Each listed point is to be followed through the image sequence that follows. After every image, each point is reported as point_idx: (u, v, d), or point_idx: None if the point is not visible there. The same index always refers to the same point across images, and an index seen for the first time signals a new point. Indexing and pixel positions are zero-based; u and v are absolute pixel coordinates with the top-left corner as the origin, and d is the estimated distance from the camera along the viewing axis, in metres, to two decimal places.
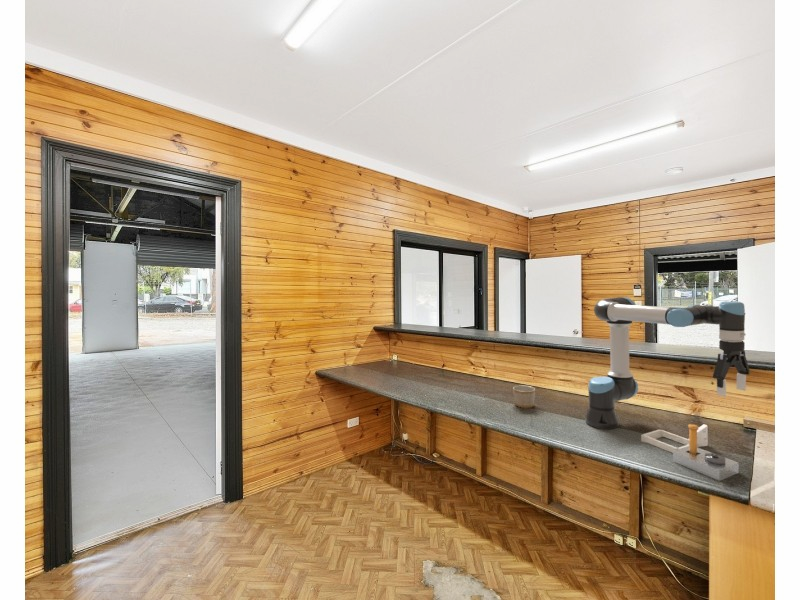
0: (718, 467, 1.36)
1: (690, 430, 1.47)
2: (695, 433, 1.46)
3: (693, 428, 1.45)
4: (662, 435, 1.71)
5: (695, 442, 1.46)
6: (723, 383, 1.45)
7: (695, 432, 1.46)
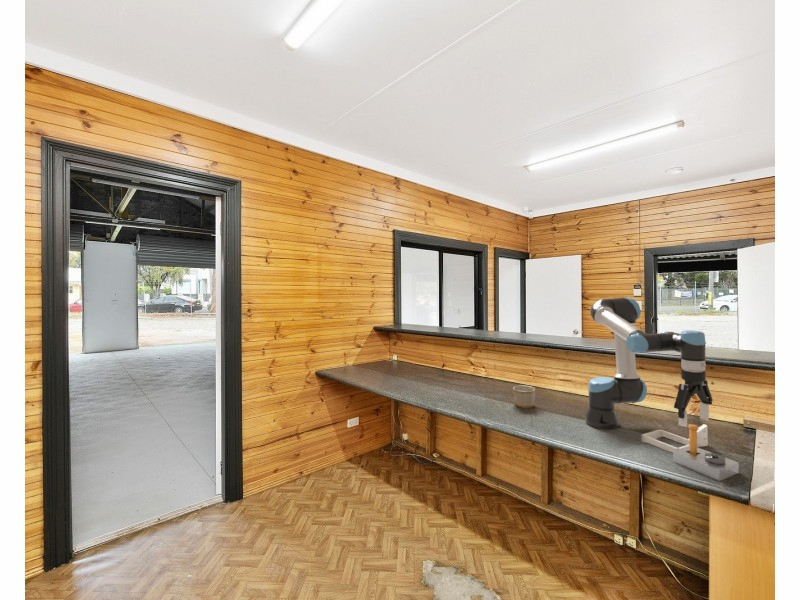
0: (718, 467, 1.36)
1: (690, 430, 1.47)
2: (695, 433, 1.46)
3: (693, 428, 1.45)
4: (662, 435, 1.71)
5: (695, 442, 1.46)
6: (684, 414, 1.42)
7: (695, 432, 1.46)
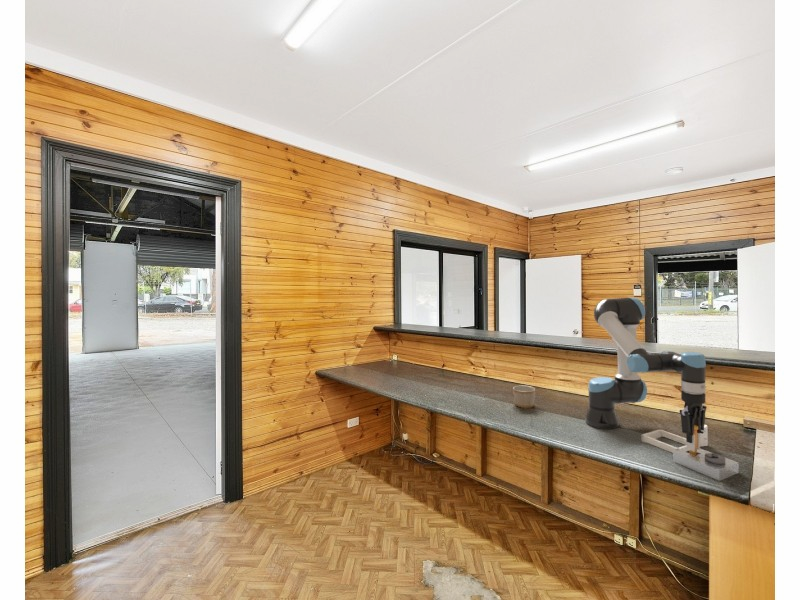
0: (718, 467, 1.36)
1: None
2: (695, 433, 1.46)
3: None
4: (662, 435, 1.71)
5: (695, 442, 1.46)
6: (692, 438, 1.45)
7: (695, 432, 1.46)
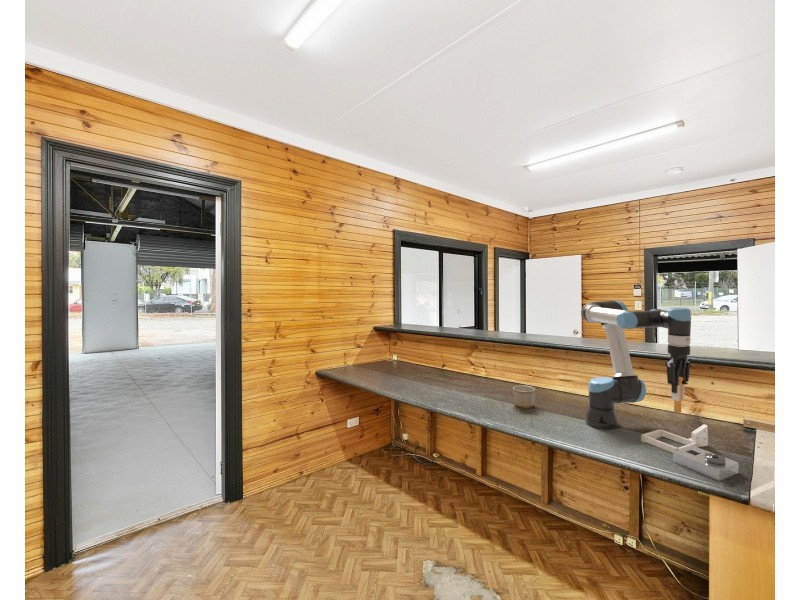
0: (718, 467, 1.36)
1: None
2: (680, 384, 1.54)
3: None
4: (662, 435, 1.71)
5: (680, 392, 1.54)
6: (677, 389, 1.53)
7: (680, 383, 1.54)
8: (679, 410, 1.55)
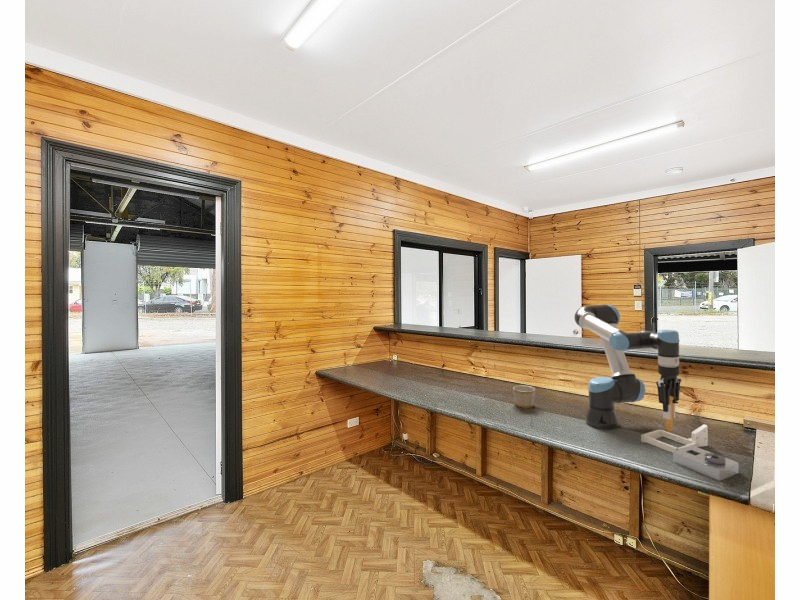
0: (718, 467, 1.36)
1: None
2: (671, 403, 1.61)
3: (669, 398, 1.61)
4: (662, 435, 1.71)
5: (671, 411, 1.61)
6: (668, 408, 1.60)
7: (670, 402, 1.61)
8: (671, 428, 1.61)
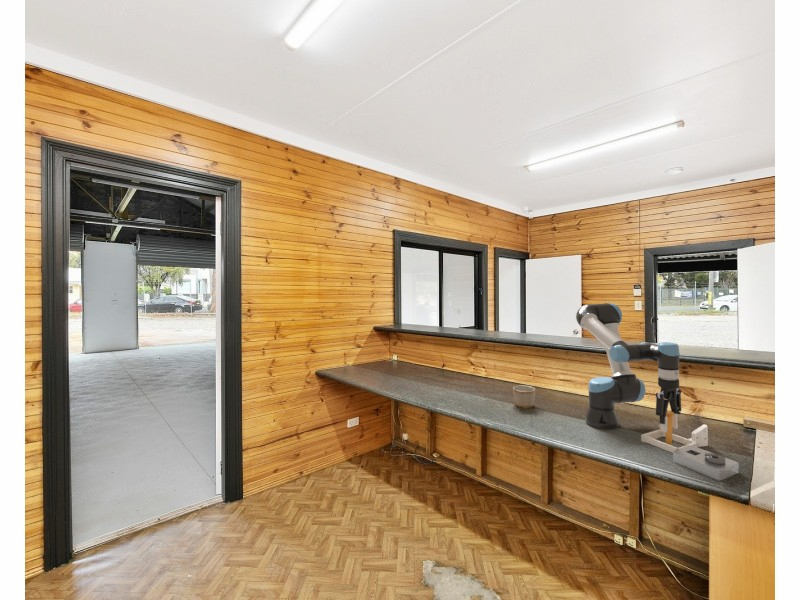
0: (718, 467, 1.36)
1: (666, 416, 1.62)
2: (671, 419, 1.61)
3: (669, 414, 1.61)
4: (662, 435, 1.71)
5: (671, 427, 1.62)
6: (665, 420, 1.60)
7: (671, 418, 1.61)
8: (670, 443, 1.62)
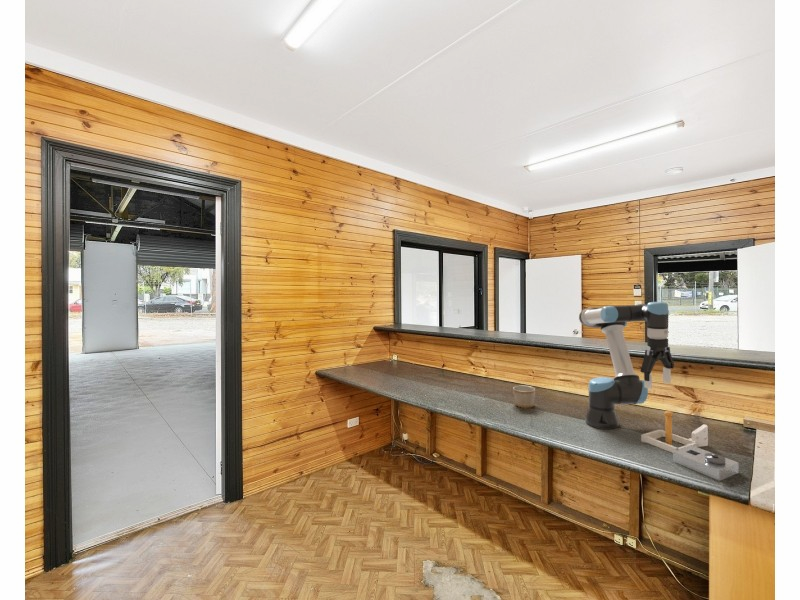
0: (718, 467, 1.36)
1: (666, 416, 1.62)
2: (670, 418, 1.61)
3: (668, 414, 1.61)
4: (662, 435, 1.71)
5: (670, 427, 1.62)
6: (649, 377, 1.57)
7: (670, 418, 1.61)
8: (670, 443, 1.62)
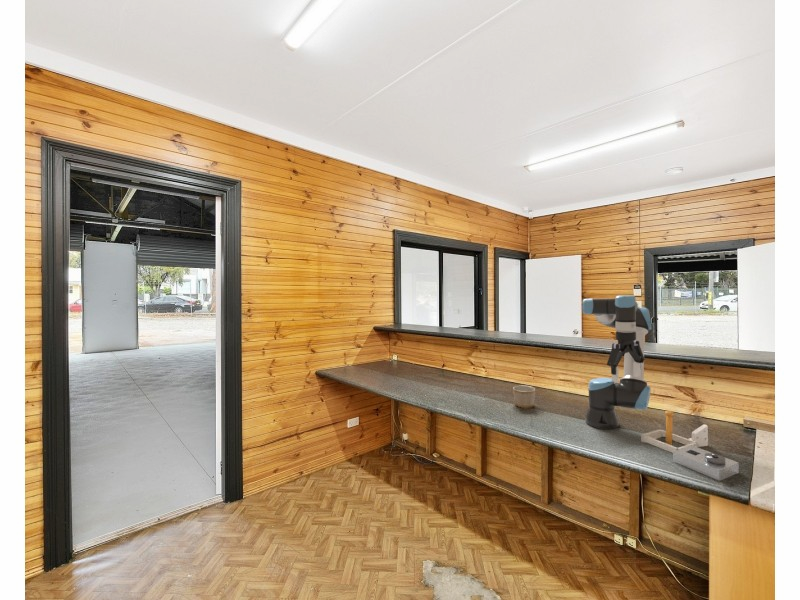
0: (718, 467, 1.36)
1: (666, 416, 1.62)
2: (671, 419, 1.61)
3: (669, 414, 1.61)
4: (662, 435, 1.71)
5: (671, 427, 1.62)
6: (616, 370, 1.56)
7: (671, 418, 1.61)
8: (670, 443, 1.62)
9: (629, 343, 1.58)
